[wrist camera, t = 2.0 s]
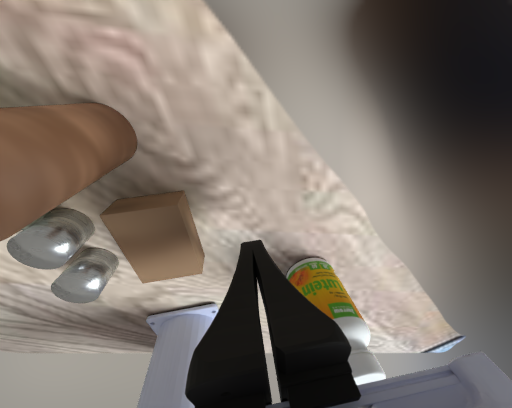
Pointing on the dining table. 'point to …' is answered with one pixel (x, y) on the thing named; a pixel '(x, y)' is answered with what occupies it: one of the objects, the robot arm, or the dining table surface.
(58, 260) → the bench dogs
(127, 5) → the dining table surface
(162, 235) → the wooden block
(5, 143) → the dowel
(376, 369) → the supplement bottle
